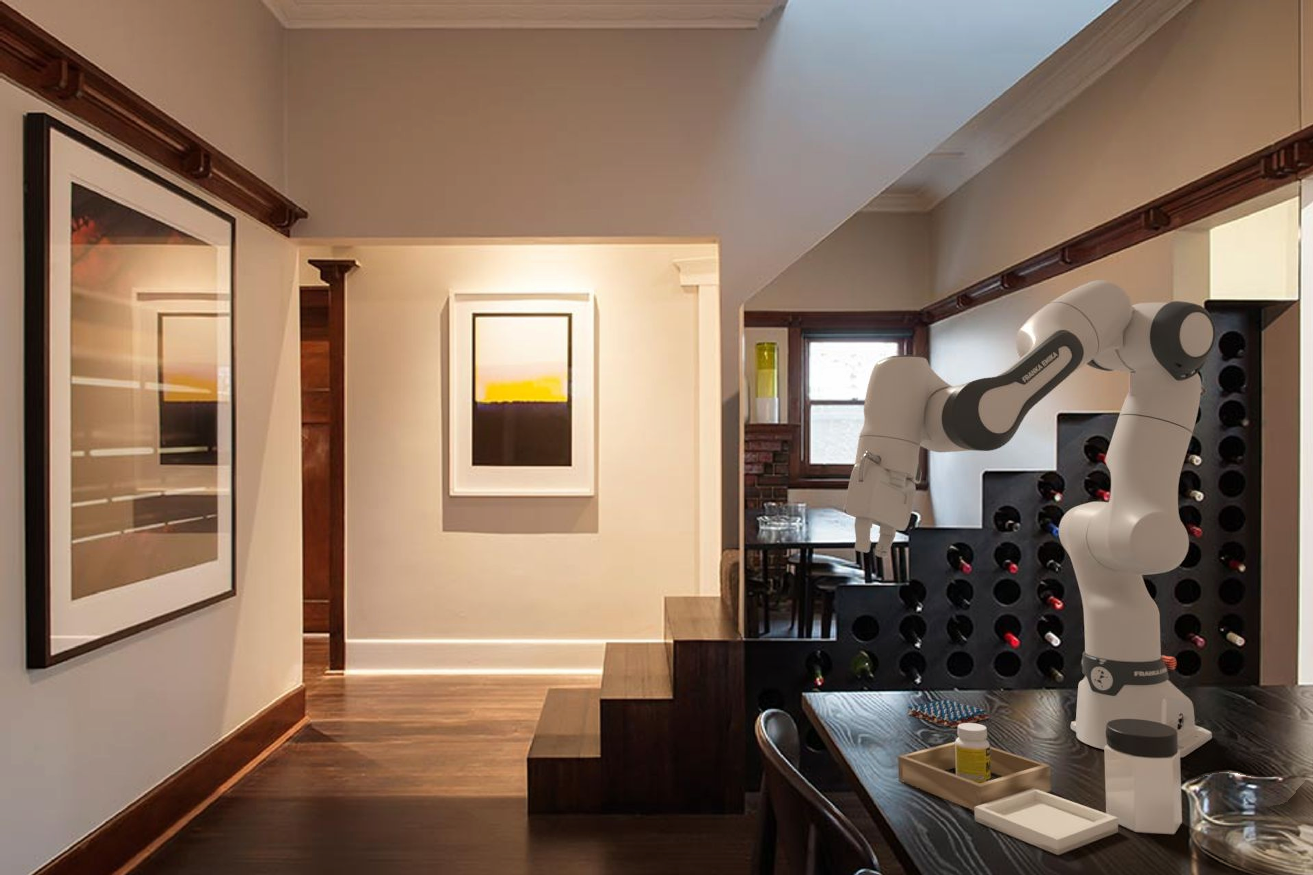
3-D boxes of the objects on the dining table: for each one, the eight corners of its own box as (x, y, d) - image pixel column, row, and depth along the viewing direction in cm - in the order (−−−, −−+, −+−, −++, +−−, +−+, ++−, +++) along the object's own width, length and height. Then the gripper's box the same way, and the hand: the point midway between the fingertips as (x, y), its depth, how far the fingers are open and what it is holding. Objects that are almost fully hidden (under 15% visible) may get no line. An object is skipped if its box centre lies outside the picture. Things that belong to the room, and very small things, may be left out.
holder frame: (966, 761, 139) (966, 738, 139) (1050, 790, 126) (1050, 765, 126) (898, 780, 131) (898, 756, 132) (981, 813, 119) (980, 786, 119)
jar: (1117, 803, 122) (1115, 713, 122) (1186, 818, 116) (1183, 724, 117) (1099, 824, 115) (1097, 729, 115) (1172, 841, 109) (1169, 741, 110)
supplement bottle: (993, 792, 126) (992, 732, 126) (958, 790, 127) (956, 730, 127) (988, 780, 131) (986, 722, 131) (954, 778, 132) (952, 720, 132)
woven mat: (953, 731, 156) (953, 719, 156) (905, 717, 165) (905, 706, 165) (991, 721, 162) (991, 709, 162) (943, 708, 170) (943, 697, 170)
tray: (1034, 801, 123) (1033, 787, 123) (1118, 831, 112) (1117, 817, 112) (974, 820, 116) (974, 806, 117) (1057, 854, 106) (1057, 839, 106)
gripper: (886, 451, 122) (871, 551, 121) (924, 474, 140) (911, 563, 138) (842, 446, 126) (826, 544, 124) (885, 470, 143) (871, 556, 141)
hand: (871, 554), depth 131 cm, fingers open, 8 cm apart
